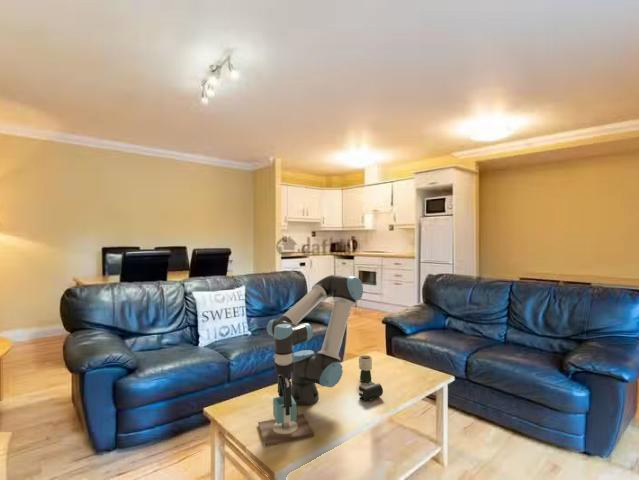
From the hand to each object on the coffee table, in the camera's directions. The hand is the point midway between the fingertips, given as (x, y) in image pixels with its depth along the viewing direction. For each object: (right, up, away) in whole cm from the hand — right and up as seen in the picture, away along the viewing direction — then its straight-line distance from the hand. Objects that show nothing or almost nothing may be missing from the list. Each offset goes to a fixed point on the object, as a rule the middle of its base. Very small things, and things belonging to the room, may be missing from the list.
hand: (284, 416), depth 148 cm
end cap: (+40, -5, +27) cm, 48 cm away
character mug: (+40, -4, +48) cm, 63 cm away
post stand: (0, -6, 0) cm, 6 cm away
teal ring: (0, 0, 0) cm, 0 cm away
